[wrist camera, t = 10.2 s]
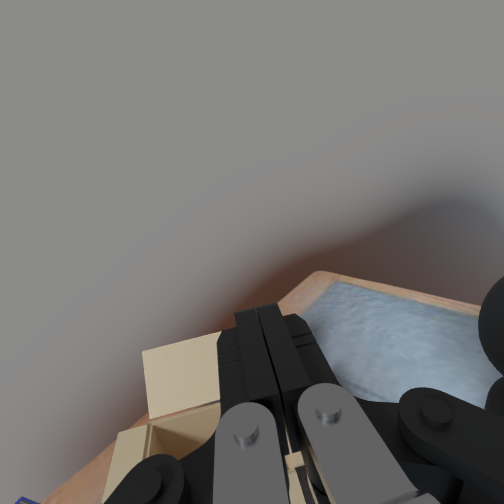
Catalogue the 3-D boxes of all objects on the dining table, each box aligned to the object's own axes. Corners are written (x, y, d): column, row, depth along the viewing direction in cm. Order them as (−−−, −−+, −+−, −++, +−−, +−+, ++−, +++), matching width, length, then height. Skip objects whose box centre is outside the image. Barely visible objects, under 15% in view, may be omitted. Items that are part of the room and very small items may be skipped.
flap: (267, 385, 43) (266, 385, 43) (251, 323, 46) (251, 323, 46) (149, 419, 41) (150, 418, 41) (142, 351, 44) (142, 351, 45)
